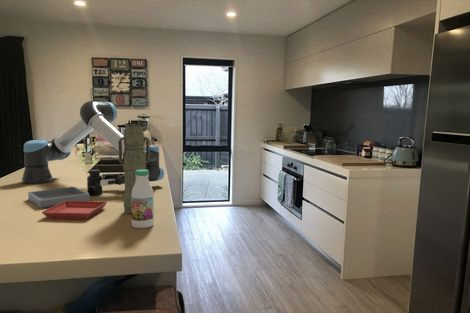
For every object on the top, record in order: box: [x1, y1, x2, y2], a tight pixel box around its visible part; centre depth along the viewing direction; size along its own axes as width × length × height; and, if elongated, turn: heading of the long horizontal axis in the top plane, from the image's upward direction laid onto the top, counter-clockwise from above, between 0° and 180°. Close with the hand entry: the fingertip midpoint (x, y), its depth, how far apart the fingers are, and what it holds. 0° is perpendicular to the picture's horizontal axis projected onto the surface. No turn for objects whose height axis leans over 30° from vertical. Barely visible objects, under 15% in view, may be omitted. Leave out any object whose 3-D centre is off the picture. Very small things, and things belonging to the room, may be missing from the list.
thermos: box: [118, 124, 150, 216], centre depth 142 cm, size 9×12×35 cm
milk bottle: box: [131, 169, 155, 229], centre depth 125 cm, size 8×8×20 cm
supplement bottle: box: [86, 169, 103, 197], centre depth 172 cm, size 7×7×12 cm
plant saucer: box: [41, 200, 107, 220], centre depth 140 cm, size 18×18×3 cm
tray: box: [27, 186, 91, 210], centre depth 159 cm, size 20×20×4 cm
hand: (95, 181), depth 171 cm, fingers open, 13 cm apart
